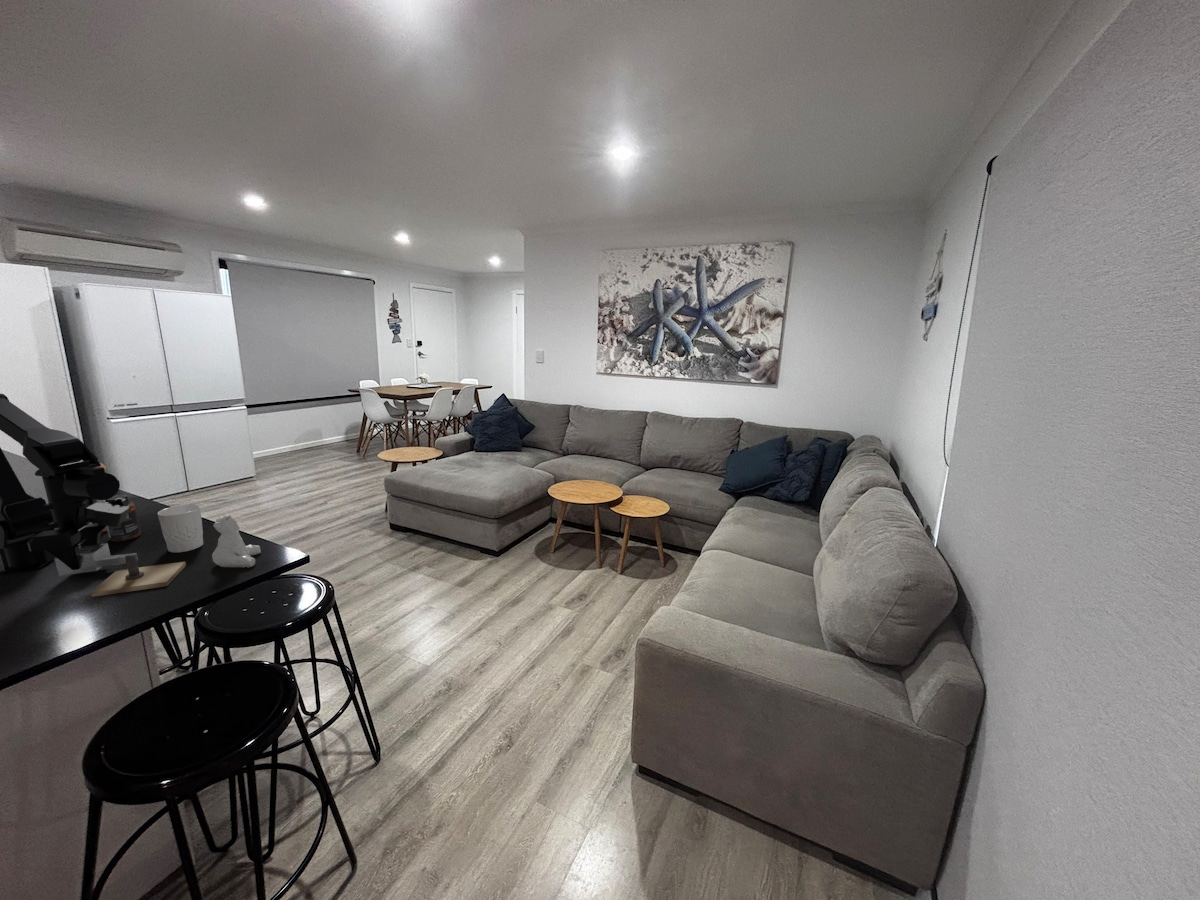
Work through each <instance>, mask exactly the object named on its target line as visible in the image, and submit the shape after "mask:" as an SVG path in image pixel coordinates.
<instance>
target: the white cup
mask: <svg viewBox="0 0 1200 900" xmlns="http://www.w3.org/2000/svg"><path fill="white" fill-rule="evenodd" d="M201 511H202V510H201V505H199V504H181V505H180V504H179V505H174V506H171V507H167V508H163V509H161V510H159V511H158V512H157V513H156V514H157V517H158V521H159V524H160V525H159V526H160V528H161V532H162V535H163V538H164V541H165V543H166V549H167V551H168V552H170V553H183V552H184V553H185V552H189V551H193V550H195V549H198V548H201V547H202V546H203V545H204V537H203V536H204V535H203V534H204V531H203V520H202V512H201Z"/></svg>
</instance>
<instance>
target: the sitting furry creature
mask: <svg viewBox="0 0 1200 900" xmlns="http://www.w3.org/2000/svg"><path fill="white" fill-rule="evenodd" d="M231 515H232V514H230V513H227V514H226V513H225V514H223V516H220V517H219V516H218V518H217V519H216V520H215V522H214V523H213V527H214V529H215V530H216V531H217V532H218V533H220V536H219V538H218V539H217V546H216V548H214V551H213V553H212V555H211V557H212V562H213V563H215V565H217V566H218V567H221V568H245V567H247V568H251V567H254V566H255V564H256V558H254V557H252V556H254V555H258V554H261V546H260V545H258V544H257V545H255V544H248V545H246V544H245V542H244V541H243V540H244V539H243V538H242V537H241V534H240V531H239V530H240V529H241V527H240V526H239V524H238V521H237V519H234V518H233V516H231Z"/></svg>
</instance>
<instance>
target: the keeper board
mask: <svg viewBox="0 0 1200 900" xmlns="http://www.w3.org/2000/svg"><path fill="white" fill-rule="evenodd" d="M128 554H129V555H126V556H125V559H126V567H127V568H123V569H117V570H115V571H114V572H113V573H112V574H110V575H109V576H108V577H107V578H105V580H104V581H102V582H101V583H99V585H97V586H96V587H95V588H94V589H93V590H92V591H90V596H91V597H92V598H93V597H99V596H100V597H101V596H107V595H114V594H120V593H121V594H122V593H129V592H136V591H142V590H148V589H149V590H150V589H156V588H163V587H168V586H169V585H171V583H172V582H173V581H174V580H175V578H176V577H177V576H178V575H180V573H181V572H182V571H183V570H184V568H186V566H187V563H186V561H180V562H179V561H178V562H171V563H164V564H155V565H147V566H141V567H139V565H138V560H137V558H136V554H132V553H128Z"/></svg>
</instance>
